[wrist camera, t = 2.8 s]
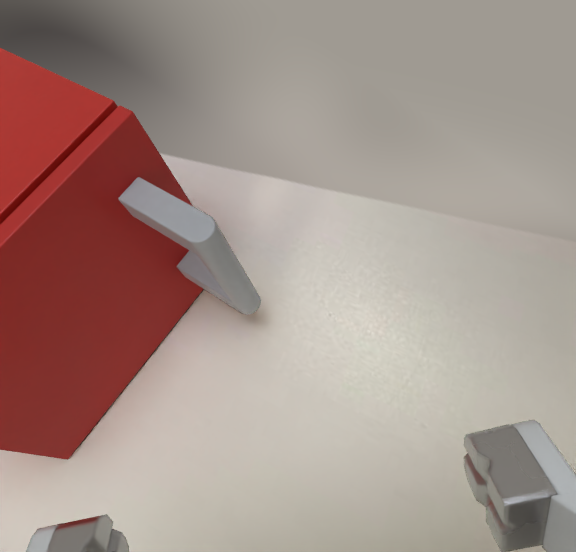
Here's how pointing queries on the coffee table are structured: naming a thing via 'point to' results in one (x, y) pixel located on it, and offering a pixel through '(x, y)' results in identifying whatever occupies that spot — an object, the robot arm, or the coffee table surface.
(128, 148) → the red cabinet door
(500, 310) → the coffee table surface
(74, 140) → the cabinet
